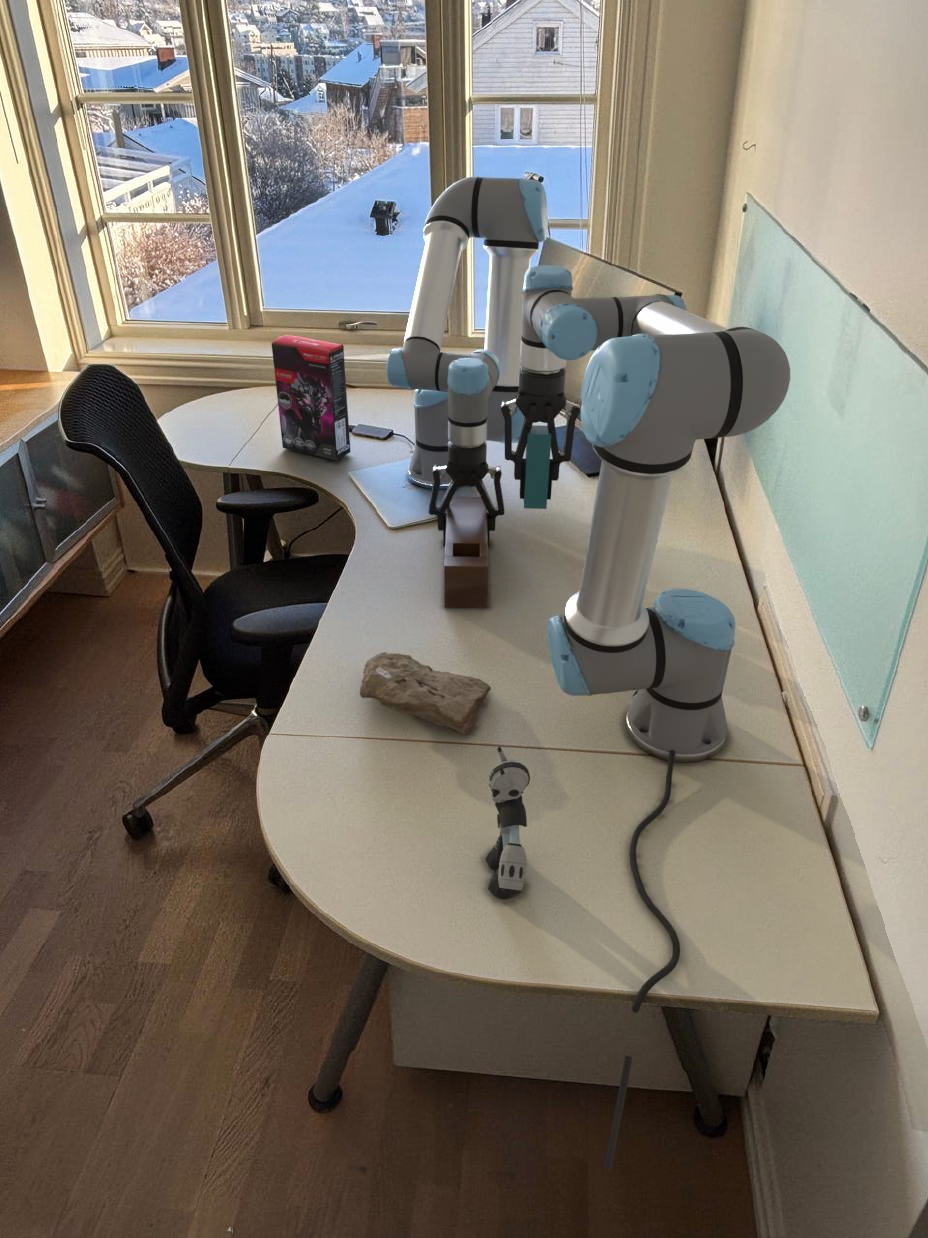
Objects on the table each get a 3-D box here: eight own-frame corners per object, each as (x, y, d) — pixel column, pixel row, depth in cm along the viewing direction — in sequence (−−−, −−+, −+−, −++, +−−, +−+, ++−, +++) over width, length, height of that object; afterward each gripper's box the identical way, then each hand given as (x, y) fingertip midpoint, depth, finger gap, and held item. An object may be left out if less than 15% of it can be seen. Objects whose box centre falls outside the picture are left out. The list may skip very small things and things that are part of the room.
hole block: (487, 608, 172) (488, 566, 167) (444, 607, 172) (444, 565, 167) (485, 535, 195) (486, 497, 190) (447, 535, 195) (447, 496, 190)
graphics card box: (280, 449, 231) (268, 340, 216) (296, 439, 236) (286, 332, 221) (337, 462, 224) (328, 351, 209) (352, 452, 229) (345, 343, 214)
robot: (531, 936, 111) (540, 818, 100) (491, 937, 111) (496, 820, 100) (516, 817, 127) (522, 704, 116) (481, 818, 127) (484, 705, 116)
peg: (546, 509, 163) (551, 434, 155) (523, 508, 163) (527, 434, 155) (545, 498, 166) (550, 425, 158) (523, 498, 166) (527, 424, 158)
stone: (334, 705, 142) (341, 671, 140) (369, 669, 156) (376, 637, 153) (461, 752, 139) (471, 718, 136) (486, 710, 152) (495, 679, 150)
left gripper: (520, 433, 182) (515, 535, 195) (414, 432, 182) (417, 534, 195) (522, 449, 176) (517, 553, 188) (412, 448, 176) (415, 552, 188)
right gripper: (593, 360, 153) (581, 487, 166) (490, 357, 154) (487, 485, 167) (597, 375, 147) (584, 506, 160) (490, 373, 147) (486, 504, 161)
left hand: (466, 543), depth 191 cm, fingers closed on hole block, 8 cm apart
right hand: (535, 495), depth 164 cm, fingers closed on peg, 4 cm apart
